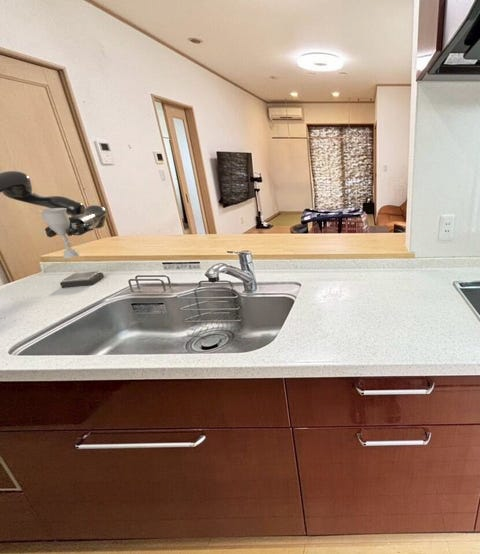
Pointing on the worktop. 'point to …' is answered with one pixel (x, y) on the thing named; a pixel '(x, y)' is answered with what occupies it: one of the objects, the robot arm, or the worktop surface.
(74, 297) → the worktop surface
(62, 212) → the chalice
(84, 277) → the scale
